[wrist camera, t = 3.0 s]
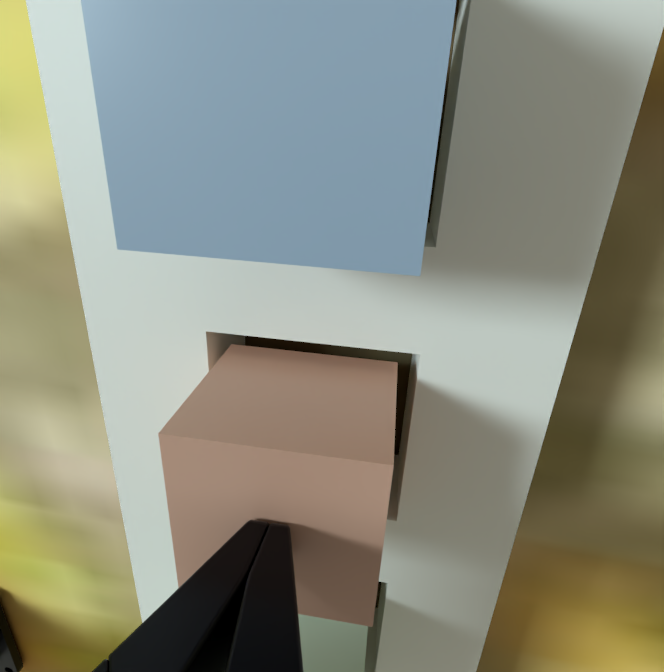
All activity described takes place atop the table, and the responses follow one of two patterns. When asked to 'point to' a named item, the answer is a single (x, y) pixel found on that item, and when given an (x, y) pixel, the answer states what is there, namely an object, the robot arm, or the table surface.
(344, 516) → the button terracotta
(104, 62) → the button slate
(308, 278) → the panel
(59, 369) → the table surface
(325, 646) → the button sage
